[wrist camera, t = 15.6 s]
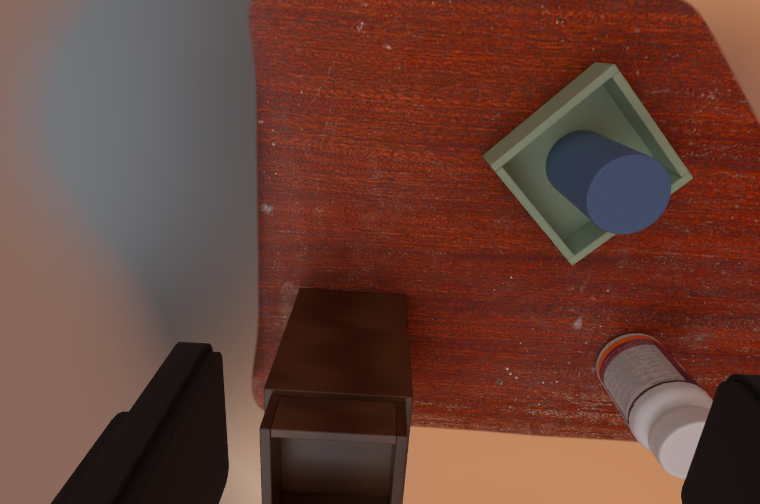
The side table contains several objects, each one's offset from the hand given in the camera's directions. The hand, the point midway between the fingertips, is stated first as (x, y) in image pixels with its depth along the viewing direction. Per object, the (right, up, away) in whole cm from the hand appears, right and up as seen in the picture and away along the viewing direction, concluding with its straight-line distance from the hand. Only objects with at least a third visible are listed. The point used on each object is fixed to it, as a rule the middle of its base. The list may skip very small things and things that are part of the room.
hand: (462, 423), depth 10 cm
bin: (+13, +10, +31) cm, 35 cm away
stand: (-4, -4, +37) cm, 37 cm away
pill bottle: (+21, -6, +37) cm, 43 cm away
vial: (+13, +10, +30) cm, 34 cm away
